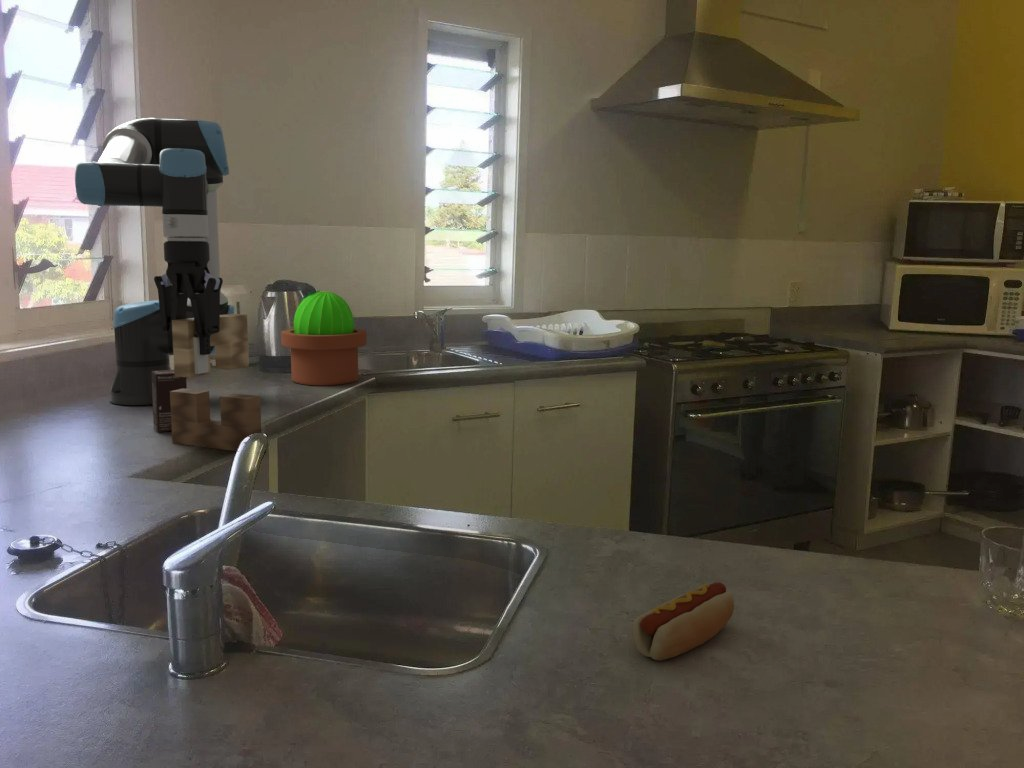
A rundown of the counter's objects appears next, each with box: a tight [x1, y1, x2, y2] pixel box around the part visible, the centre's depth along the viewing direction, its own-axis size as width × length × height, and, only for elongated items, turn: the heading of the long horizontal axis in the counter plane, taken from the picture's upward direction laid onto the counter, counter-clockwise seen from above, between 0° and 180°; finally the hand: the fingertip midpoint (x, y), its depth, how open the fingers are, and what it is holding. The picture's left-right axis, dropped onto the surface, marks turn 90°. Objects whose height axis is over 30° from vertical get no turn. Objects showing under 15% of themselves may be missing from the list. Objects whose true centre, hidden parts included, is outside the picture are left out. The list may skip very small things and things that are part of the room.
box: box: [151, 369, 188, 433], centre depth 178 cm, size 6×4×12 cm
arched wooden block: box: [172, 313, 250, 379], centre depth 162 cm, size 16×4×10 cm, turn 158°
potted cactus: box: [280, 289, 368, 387], centre depth 238 cm, size 22×22×25 cm
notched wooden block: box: [170, 388, 262, 452], centre depth 165 cm, size 18×4×10 cm, turn 68°
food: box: [631, 581, 735, 661], centre depth 89 cm, size 14×6×5 cm, turn 136°
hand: (192, 371), depth 158 cm, fingers closed on arched wooden block, 3 cm apart
